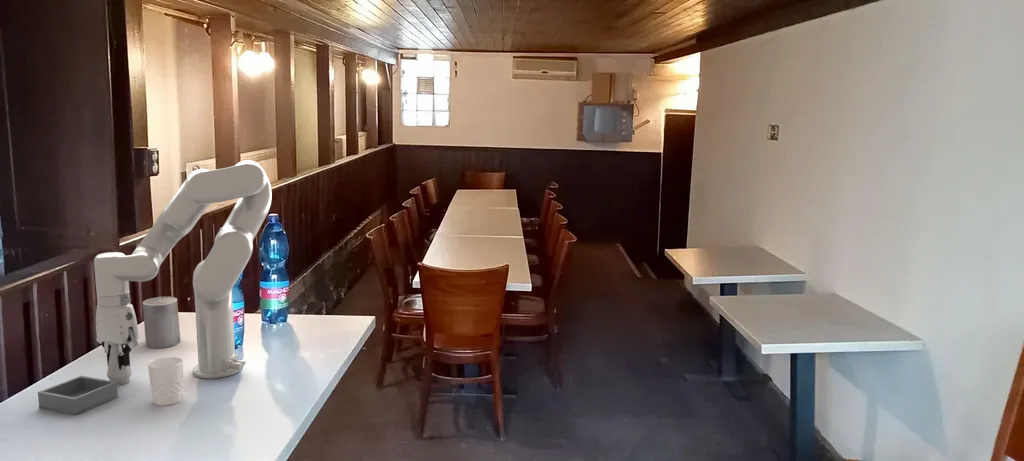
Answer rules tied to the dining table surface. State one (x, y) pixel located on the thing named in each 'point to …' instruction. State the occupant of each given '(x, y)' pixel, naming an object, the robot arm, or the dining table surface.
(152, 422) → the dining table surface
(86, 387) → the box
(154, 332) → the pillar candle
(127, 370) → the salt shaker
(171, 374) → the white cup
